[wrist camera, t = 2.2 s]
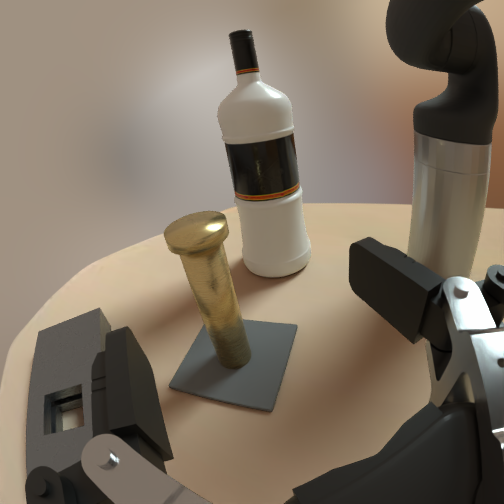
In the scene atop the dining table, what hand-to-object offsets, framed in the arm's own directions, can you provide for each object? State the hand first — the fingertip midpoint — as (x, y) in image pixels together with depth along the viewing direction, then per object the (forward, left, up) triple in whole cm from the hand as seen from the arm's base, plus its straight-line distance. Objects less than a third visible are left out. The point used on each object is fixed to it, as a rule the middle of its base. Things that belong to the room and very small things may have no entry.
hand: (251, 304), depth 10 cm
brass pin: (-9, -7, -16) cm, 19 cm away
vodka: (-26, -7, -16) cm, 31 cm away
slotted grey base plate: (+1, -22, -16) cm, 27 cm away
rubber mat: (-9, -7, -16) cm, 20 cm away
